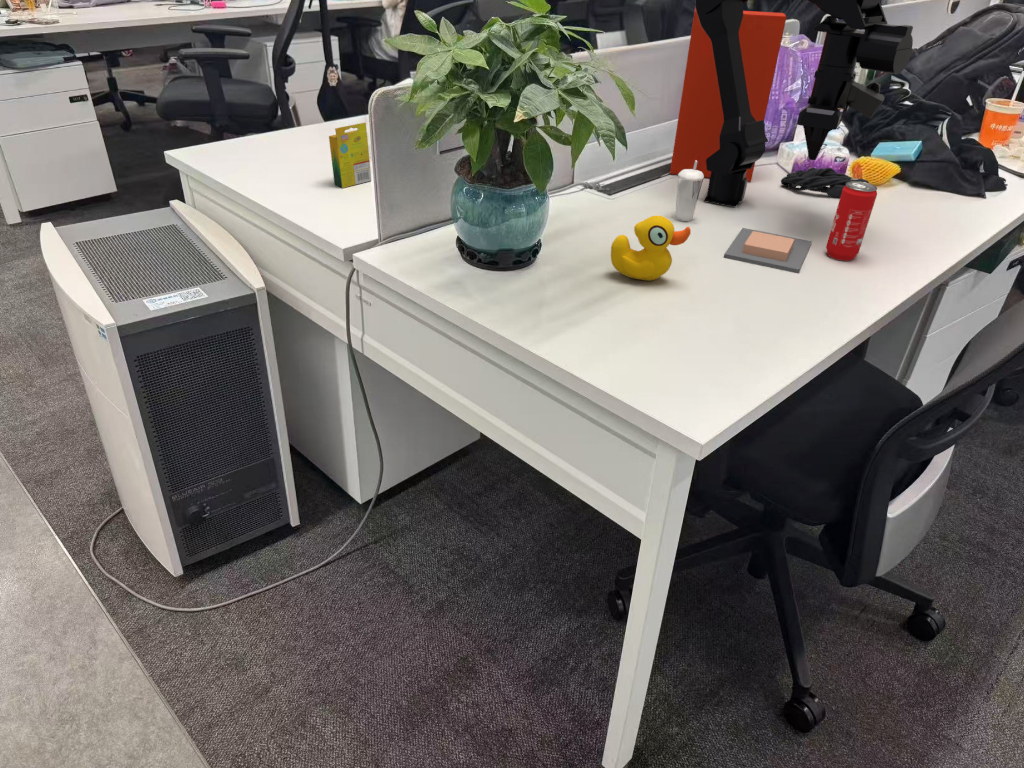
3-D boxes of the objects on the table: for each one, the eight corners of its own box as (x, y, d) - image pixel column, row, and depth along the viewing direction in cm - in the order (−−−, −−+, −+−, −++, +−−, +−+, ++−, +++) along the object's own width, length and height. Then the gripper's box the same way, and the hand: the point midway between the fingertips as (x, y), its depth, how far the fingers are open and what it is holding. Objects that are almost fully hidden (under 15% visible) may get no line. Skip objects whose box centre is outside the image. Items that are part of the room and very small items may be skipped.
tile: (751, 239, 125) (742, 252, 120) (752, 230, 124) (744, 244, 119) (792, 247, 122) (785, 261, 117) (794, 239, 122) (787, 253, 116)
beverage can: (841, 263, 119) (863, 192, 112) (817, 252, 122) (837, 183, 116) (863, 258, 121) (886, 188, 114) (838, 247, 124) (859, 179, 118)
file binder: (671, 164, 164) (695, 7, 146) (748, 171, 161) (782, 12, 143) (669, 174, 157) (694, 11, 140) (750, 182, 154) (786, 16, 137)
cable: (785, 197, 148) (790, 176, 145) (772, 177, 159) (776, 157, 157) (871, 202, 147) (877, 181, 144) (851, 182, 158) (857, 162, 156)
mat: (723, 257, 119) (724, 253, 119) (741, 230, 130) (742, 227, 129) (798, 273, 115) (799, 269, 115) (810, 244, 125) (811, 241, 125)
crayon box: (363, 177, 149) (358, 119, 142) (372, 181, 147) (367, 122, 140) (333, 185, 144) (326, 125, 138) (341, 188, 142) (335, 128, 136)
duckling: (681, 275, 113) (692, 214, 107) (681, 290, 108) (692, 226, 103) (609, 267, 114) (616, 206, 109) (606, 281, 110) (613, 218, 105)
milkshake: (699, 215, 136) (709, 162, 130) (692, 224, 132) (702, 170, 126) (675, 211, 137) (684, 158, 132) (668, 220, 133) (677, 166, 128)
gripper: (885, 78, 108) (855, 181, 117) (893, 62, 122) (865, 154, 131) (809, 70, 113) (785, 169, 121) (825, 55, 127) (802, 145, 135)
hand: (812, 159), depth 127 cm, fingers closed
